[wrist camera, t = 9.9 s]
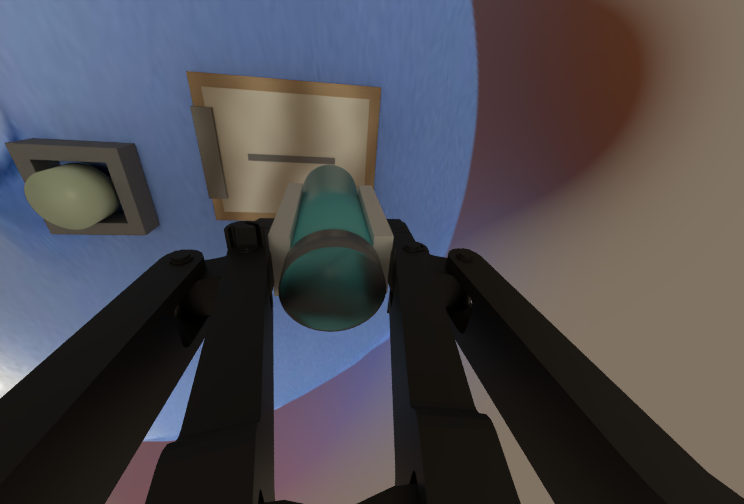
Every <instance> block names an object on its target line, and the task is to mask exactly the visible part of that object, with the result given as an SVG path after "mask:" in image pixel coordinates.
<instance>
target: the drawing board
mask: <svg viewBox="0 0 744 504" xmlns="http://www.w3.org/2000/svg"><path fill="white" fill-rule="evenodd" d="M186 73H187V77H188V82H189V87H190V92H191V97H192V102H193V106H190V107H191V112H192V117H193V122H194V127H195V131H196V136H197V141H198V146H199V151H200V155H201V160H202V165H203V170H204V175H205V180H206V184H207V189H208V194H209V198H211V199H212V201H213V205H214V210H215V215H216V220H245V221H256V220H257V219H259V218H275V216H276V214H277V211H278V209H279V206H280V204H281V201H282V199H283V196H284V194H285V191H286V189H287V186H288V184H289V183H303V185H304V181H305V179H306V177H307V176H308V174H309V173H310V172H311V171H312V170H314V169H315V168H317V167H319V166H323V165H335V166H339V167H341V168H343V169H345V170H346V171H347V172H348V173H349V174H350V175H351V176H352V178H353V179H354V181H355V184H356V188H357V191H358V186H359V185H372V188H373V190H374V177H375V163H376V150H377V137H378V124H379V110H380V97H381V88H380V87H368V86H356V85H345V84H333V83H321V82H309V81H297V80H285V79H273V78H261V77H249V76H237V75H225V74H213V73H201V72H189V71H186Z"/></svg>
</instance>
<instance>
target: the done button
mask: <svg viewBox="0 0 744 504" xmlns="http://www.w3.org/2000/svg"><path fill="white" fill-rule="evenodd" d="M24 191H25V196H26V198H27V201H28V202H29V204H30V205H31V207H32V208H33V209H34V210H35V211H36V212H37V213H38V214H39V215H40V216H41V217H43V218H44V219H45V220H47V221H49V222H50V223H52V224H55V225H57V226H60V227H63V228H66V229H74V230H79V229H85V228H88V227H90V226H92V225H94V224H96V223H97V222H99V221H101V220H103V219H104V218H106V217H108V216H110V215H111V214H113V213H114V212H115V211H116V210H117V209H118V208H119V205H120V200H119V197H118V194H117V192H116V189H115V186H114V183H113V181H112V180H111V179H110V178H109V177H108V176H107V175H105V174H104V173H103V172H101V171H100V170H98V169H96V168H94V167H92V166H89V165H86V164H82V163H68V164H64V165H61V166H57V167H54V168H50V169H47V170H43V171H40V172H37V173H34V174H32V175H31V176H30V177H29V178H28V179H27V180H26V182H25V186H24Z"/></svg>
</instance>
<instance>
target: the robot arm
mask: <svg viewBox="0 0 744 504" xmlns="http://www.w3.org/2000/svg"><path fill="white" fill-rule="evenodd" d="M302 196H303V183H289V184H288V186H287V189H286V191H285V194H284V196H283V199H282V201H281V204H280V206H279V209H278V211H277V214H276V216H275V218H259V219H257V220H256V221H239V222H235V223H231V224H229V225H227V226H226V227H225V228H224V233H225V238H226V243H227V248H228V251H227V255H226V256H224V257H220V258H215V259H209V260H204V257H203V254H202V253H201V252H199V251H197V250H179V251H174V252H172V253H170V254H167V255H165V256H164V257H162V258H160V259H159V260H158V261H157V262H156V263H155V264H154V265H152V266H151V267H150V268H149V269H148V270H147V271H146V272H144V273H143V274H142V275H141V276H140V277H139V278H138V279H136V280H135V281H134V282H133V283H132V284H131V285H130V286H128V287H127V288H126V289H125V290H124V291H123V292H122V293H120V294H119V295H118V296H117V297H116V298H115V299H114V300H112V301H111V302H110V303H109V304H108V305H107V306H106V307H104V308H103V309H102V310H101V311H100V312H99V313H98V314H96V315H95V316H94V317H93V318H92V319H91V320H90V321H88V322H87V323H86V324H85V325H84V326H83V327H82V328H80V329H79V330H78V331H77V332H76V333H75V334H74V335H72V336H71V337H70V338H69V339H68V340H67V341H66V342H64V343H63V344H62V345H61V346H60V347H59V348H58V349H56V350H55V351H54V352H53V353H52V354H51V355H50V356H48V357H47V358H46V359H45V360H44V361H43V362H42V363H40V364H39V365H38V366H37V367H36V368H35V369H34V370H32V371H31V372H30V373H29V374H28V375H27V376H26V377H24V378H23V379H22V380H21V381H20V382H19V383H18V384H16V385H15V386H14V387H13V388H12V389H11V390H10V391H8V392H7V393H6V394H5V395H4V396H3V397H2V398H0V504H105V503H106V501H107V499H108V497H109V496H110V494H111V492H112V491H113V489H114V487H115V486H116V484H117V483H118V481H119V479H120V478H121V476H122V474H123V473H124V471H125V469H126V468H127V466H128V464H129V463H130V461H131V459H132V457H133V456H134V454H135V453H136V451H137V449H138V448H139V446H140V444H141V443H142V441H143V439H144V438H145V436H146V434H147V433H148V431H149V429H150V428H151V426H152V425H153V423H154V421H155V420H156V418H157V416H158V415H159V413H160V411H161V410H162V408H163V406H164V405H165V403H166V401H167V400H168V398H169V396H170V395H171V393H172V391H173V390H174V388H175V386H176V385H177V383H178V381H179V380H180V378H181V376H182V375H183V373H184V371H185V370H186V368H187V366H188V365H189V363H190V361H191V360H192V358H193V356H194V355H195V353H196V351H197V350H198V348H199V346H200V345H201V343H202V342H203V340H204V338H205V340H204V343H203V347H202V351H201V355H200V359H199V363H198V367H197V370H196V374H195V378H194V382H193V386H192V390H191V393H190V397H189V401H188V405H187V409H186V413H185V417H184V420H183V424H182V428H181V431H180V434H179V437H178V439H177V440H176V441H175V442H172V443H169V444H167V445H166V447H165V448H164V449H163V451H162V453H161V455H160V458H159V460H158V463H157V465H156V469H155V472H154V476H153V479H152V482H151V485H150V489H149V492H148V495H147V499H146V502H145V504H302V503H296V502H292V501H287V500H280V501H275V493H274V379H273V298H272V290H273V287H274V293H275V296H279V290H278V288H279V281H280V277H281V273H282V269H283V265H284V261H285V258H286V256H287V254H288V252H289V251H290V249H291V245H292V240H293V236H294V231H295V227H296V223H297V218H298V214H299V209H300V205H301V200H302ZM358 196H359V200H360V203H361V207H362V210H363V214H364V217H365V220H366V224H367V227H368V231H369V234H370V238H371V241H372V245H373V248H374V249H375V251H376V253H377V255H378V257H379V260H380V263H381V266H382V270H383V273H384V276H385V280H386V293H387V288H388V284H389V287H390V294H389V302H388V309H387V313H389V316H390V339H391V340H390V342H391V366H392V367H391V368H392V394H393V420H394V447H395V486H393V487H391V488H389V489H387V490H385V491H383V492H380V493H378V494H376V495H375V496H372V497H370V498H368V499H366V500H364V501H362V502H360V503H357V504H521V503H520V500H519V498H518V495H517V492H516V489H515V486H514V483H513V480H512V477H511V474H510V471H509V468H508V465H507V462H506V459H505V456H504V453H503V450H502V447H501V444H500V441H499V438H498V435H497V433H496V430H495V427H494V425H493V423H492V421H491V419H490V418H489V417H488V416H487V415H486V414H481V413H479V412H478V411H477V410H476V407H475V405H474V402H473V398H472V395H471V392H470V388H469V385H468V382H467V378H466V375H465V372H464V368H463V365H462V361H461V358H460V355H459V351H458V348H457V345H456V342H457V343H458V345H459V346H460V348H461V350H462V352H463V353H464V355H465V356H466V358H467V360H468V361H469V363H470V365H471V366H472V368H473V370H474V371H475V373H476V375H477V376H478V378H479V379H480V381H481V383H482V384H483V386H484V388H485V389H486V391H487V393H488V394H489V396H490V398H491V399H492V401H493V403H494V404H495V406H496V408H497V409H498V411H499V412H500V414H501V416H502V417H503V419H504V420H505V422H506V424H507V426H508V427H509V429H510V431H511V432H512V434H513V435H514V437H515V439H516V440H517V442H518V444H519V445H520V447H521V449H522V450H523V452H524V454H525V455H526V457H527V459H528V460H529V462H530V463H531V465H532V467H533V468H534V470H535V471H536V473H537V475H538V477H539V478H540V480H541V482H542V483H543V485H544V487H545V488H546V490H547V492H548V493H549V495H550V496H551V498H552V500H553V501H554V503H555V504H744V498H742V497H741V496H739V495H738V494H737V493H735V492H734V491H733V490H731V489H730V488H728V487H727V486H726V485H724V484H723V483H722V482H720V481H719V480H718V479H716V478H715V477H713V476H712V475H711V474H709V473H708V472H707V471H706V470H705V469H703V467H701V466H700V465H699V464H698V463H697V462H696V461H695V460H694V459H693V458H692V457H691V456H690V455H689V454H688V453H687V452H686V451H685V450H684V449H683V448H681V446H680V445H678V444H677V443H676V442H675V441H674V440H673V439H672V438H671V437H670V436H669V435H668V434H667V433H666V432H665V431H663V429H662V428H661V427H660V426H659V425H657V424H656V423H655V422H654V421H653V420H652V419H651V418H650V417H649V416H648V415H647V414H646V413H645V412H644V411H643V410H642V409H641V408H639V406H638V405H637V404H635V403H634V402H633V401H632V400H631V399H630V398H629V397H628V396H627V395H626V394H625V393H624V392H623V391H622V390H621V389H620V388H619V387H618V386H616V385H615V384H614V383H613V382H612V381H611V380H610V379H609V378H608V377H607V376H606V375H605V374H604V373H603V372H602V371H601V370H600V369H599V368H598V367H597V366H596V365H595V364H593V363H592V362H591V361H590V360H589V359H588V358H587V357H586V356H585V355H584V354H583V353H582V352H581V351H580V350H579V349H578V348H577V347H576V346H575V345H574V344H572V343H571V342H570V341H569V340H568V339H567V338H566V337H565V336H564V335H563V334H562V333H561V332H560V331H559V330H558V329H557V328H556V327H555V326H554V325H553V324H552V323H550V322H549V321H548V320H547V319H546V318H545V317H544V316H543V315H542V314H541V313H540V312H539V311H538V310H537V309H536V308H535V307H534V306H533V305H532V304H531V303H529V302H528V301H527V300H526V299H525V298H524V297H523V296H522V295H521V294H520V293H519V292H518V291H517V290H516V289H515V288H514V287H513V286H512V285H511V284H509V282H507V281H506V280H505V279H504V278H503V277H502V276H501V275H500V274H499V273H498V272H497V271H496V270H495V269H494V268H493V267H492V266H491V265H489V263H488V262H487V261H485V260H484V259H483V258H482V257H481V256H480V255H478V254H477V253H475V252H473V251H471V250H469V249H464V248H462V249H452V250H451V251H449V253H448V258H444V257H438V256H434V255H430V254H429V250H428V248H427V247H426V246H425V245H423V244H422V243H419V242H415V240H414V238H413V236H412V234H411V233H410V231H409V229H408V227H407V225H406V224H405V223H404V222H402V221H401V220H399V219H386V217H385V215H384V213H383V210H382V208H381V206H380V204H379V201H378V199H377V197H376V194H375V192H374V190H373V188H372V185H359V186H358ZM471 300H472V303H471ZM455 340H456V341H455Z"/></svg>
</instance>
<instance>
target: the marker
mask: <svg viewBox="0 0 744 504" xmlns="http://www.w3.org/2000/svg"><path fill="white" fill-rule="evenodd" d="M278 290H279V298H280V302H281V304H282V306H283V308H284V310H285V311H286V312H287V314H288V315H289V316H290V317H291V318H292V319H294V320H295V321H296V322H298V323H299V324H301V325H303V326H305V327H308V328H311V329H314V330H319V331H327V332H333V331H342V330H347V329H350V328H353V327H356V326H358V325H360V324H362V323H364V322H365V321H367V320H368V319H370V318H371V317H372V316H373V315H374V314H375V313H376V312H377V311H378V309H379V308H380V306H381V305H382V303H383V301H384V298H385V294H386V280H385V276H384V273H383V270H382V266H381V263H380V260H379V257H378V255H377V253H376V251H375V249H374V248H373V245H372V241H371V238H370V234H369V231H368V227H367V224H366V220H365V217H364V214H363V210H362V207H361V203H360V200H359V196H358V191H357V188H356V184H355V181H354V179H353V178H352V176H351V175H350V174H349V173H348V172H347V171H346V170H345V169H343V168H341V167H339V166H335V165H323V166H319V167H317V168H315V169H314V170H312V171H311V172H310V173H309V174H308V176H307V177H306V179H305V181H304V185H303V196H302V200H301V205H300V209H299V214H298V218H297V223H296V227H295V231H294V236H293V240H292V245H291V249H290V251H289V252H288V254H287V256H286V258H285V261H284V265H283V269H282V273H281V277H280V281H279V288H278Z"/></svg>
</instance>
